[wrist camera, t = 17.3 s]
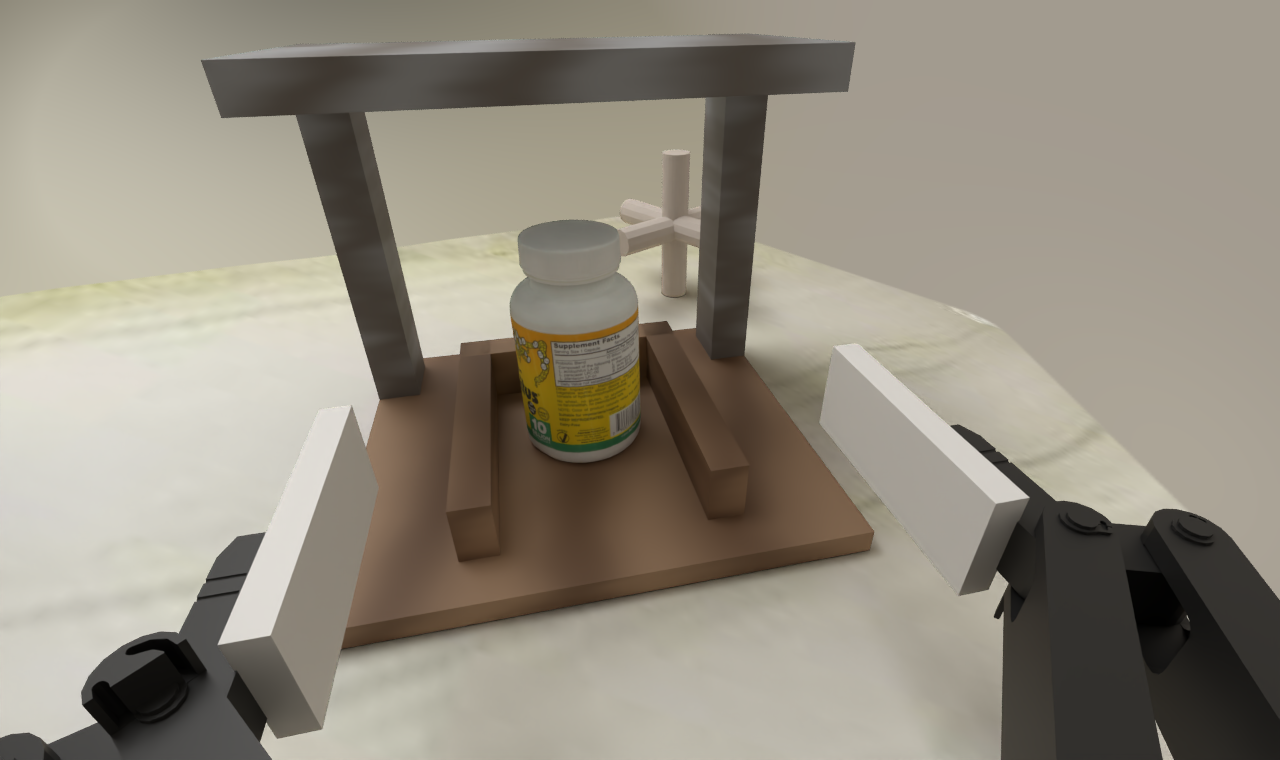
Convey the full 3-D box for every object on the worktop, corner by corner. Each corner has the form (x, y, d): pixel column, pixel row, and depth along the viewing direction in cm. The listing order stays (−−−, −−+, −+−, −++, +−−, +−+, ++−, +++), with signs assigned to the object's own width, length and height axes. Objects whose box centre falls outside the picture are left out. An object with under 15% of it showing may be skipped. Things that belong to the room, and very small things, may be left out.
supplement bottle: (650, 458, 26) (648, 251, 21) (529, 474, 26) (497, 263, 21) (630, 394, 31) (625, 210, 26) (526, 405, 30) (500, 218, 25)
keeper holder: (321, 652, 20) (44, 85, 11) (394, 376, 35) (303, 43, 26) (869, 549, 23) (1005, 54, 14) (720, 339, 38) (740, 33, 29)
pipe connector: (671, 336, 39) (673, 178, 33) (580, 290, 45) (570, 152, 40) (768, 293, 44) (784, 152, 39) (675, 258, 51) (677, 133, 45)
